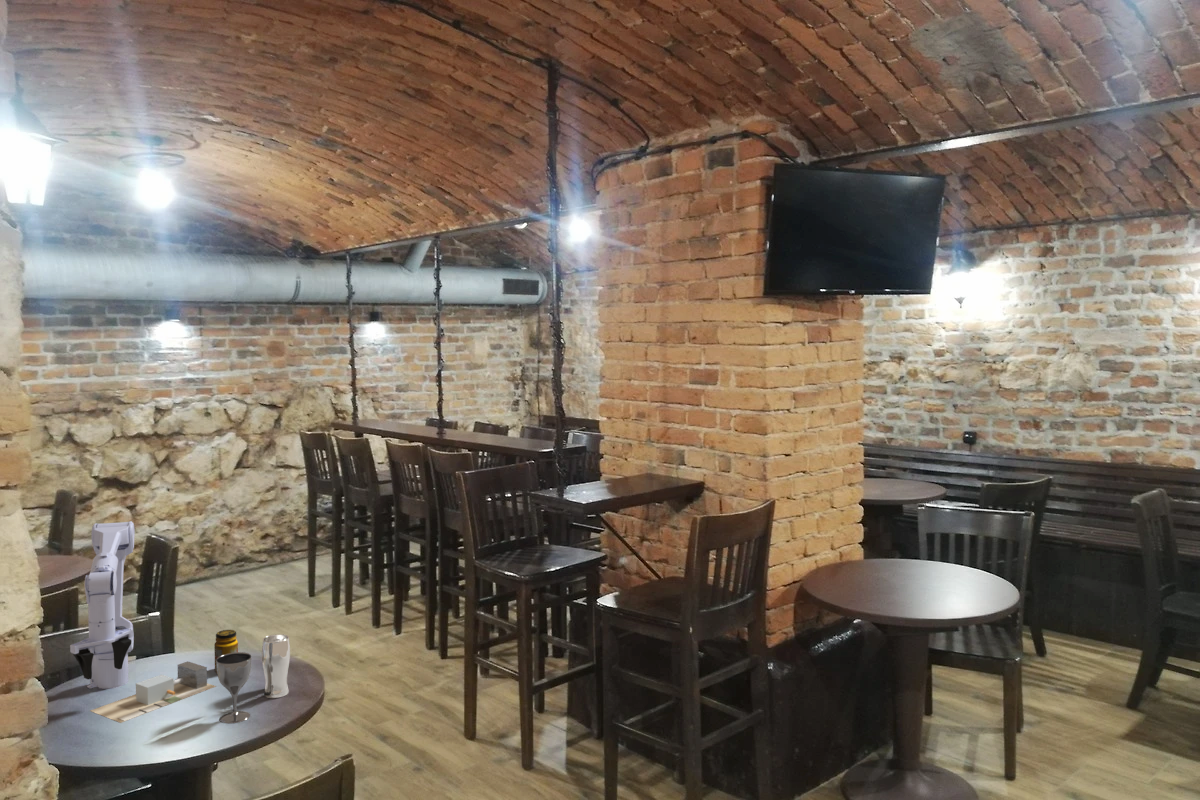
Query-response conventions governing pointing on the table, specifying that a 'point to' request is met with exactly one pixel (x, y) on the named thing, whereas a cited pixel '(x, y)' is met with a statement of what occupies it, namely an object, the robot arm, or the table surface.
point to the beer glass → (276, 664)
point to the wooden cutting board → (133, 708)
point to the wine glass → (234, 681)
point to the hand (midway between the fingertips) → (103, 673)
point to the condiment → (225, 644)
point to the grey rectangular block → (192, 675)
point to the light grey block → (155, 689)
